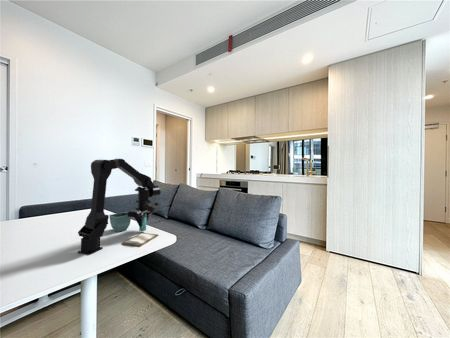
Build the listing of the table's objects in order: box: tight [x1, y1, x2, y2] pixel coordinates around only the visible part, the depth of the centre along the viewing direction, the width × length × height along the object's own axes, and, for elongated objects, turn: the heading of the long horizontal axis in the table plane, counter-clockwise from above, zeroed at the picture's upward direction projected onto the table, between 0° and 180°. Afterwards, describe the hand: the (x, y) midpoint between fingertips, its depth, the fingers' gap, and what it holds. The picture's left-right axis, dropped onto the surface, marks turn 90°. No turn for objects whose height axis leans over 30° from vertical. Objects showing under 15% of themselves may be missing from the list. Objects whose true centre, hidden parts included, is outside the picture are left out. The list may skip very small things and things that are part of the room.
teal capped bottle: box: [138, 213, 147, 232], centre depth 107 cm, size 4×4×9 cm
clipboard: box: [121, 232, 159, 247], centre depth 96 cm, size 15×10×1 cm, turn 168°
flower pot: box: [108, 211, 132, 233], centre depth 109 cm, size 9×9×9 cm
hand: (142, 225), depth 107 cm, fingers closed on teal capped bottle, 4 cm apart
